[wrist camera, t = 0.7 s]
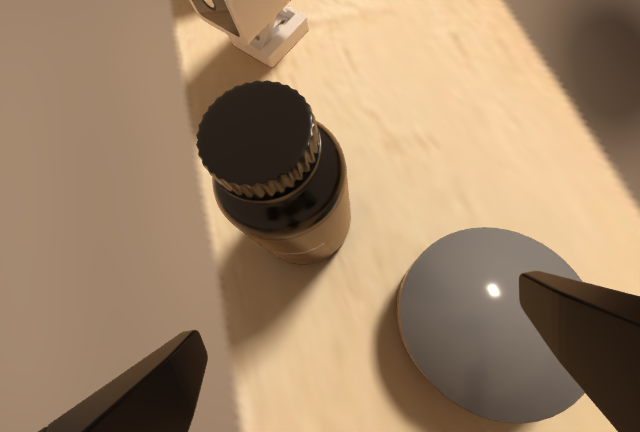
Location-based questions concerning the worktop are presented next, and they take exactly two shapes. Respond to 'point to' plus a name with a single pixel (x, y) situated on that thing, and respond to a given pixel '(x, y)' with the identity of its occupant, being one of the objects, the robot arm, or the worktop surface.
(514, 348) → the stand
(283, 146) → the supplement bottle
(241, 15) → the security camera
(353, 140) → the worktop surface
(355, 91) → the worktop surface
